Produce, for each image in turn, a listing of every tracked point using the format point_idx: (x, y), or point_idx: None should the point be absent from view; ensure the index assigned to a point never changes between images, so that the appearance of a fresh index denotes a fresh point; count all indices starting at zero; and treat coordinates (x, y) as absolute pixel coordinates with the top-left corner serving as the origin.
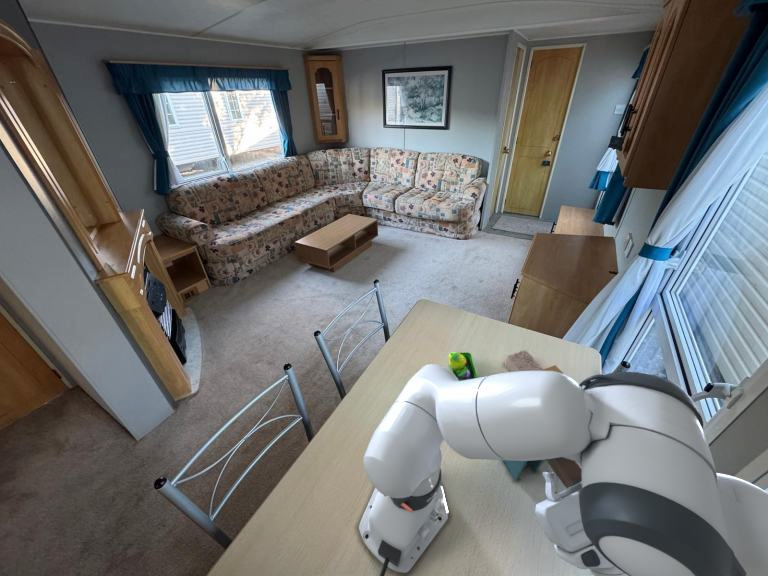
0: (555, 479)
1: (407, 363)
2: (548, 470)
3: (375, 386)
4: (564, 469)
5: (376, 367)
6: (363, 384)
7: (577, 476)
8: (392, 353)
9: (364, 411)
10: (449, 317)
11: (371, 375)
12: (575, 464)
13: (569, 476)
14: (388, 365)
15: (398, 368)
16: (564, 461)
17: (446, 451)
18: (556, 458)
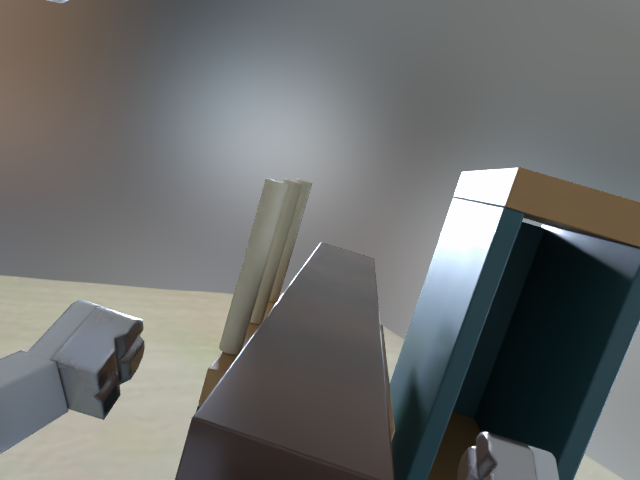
0: (92, 360)
1: (209, 317)
2: (137, 340)
3: (93, 296)
4: (242, 368)
5: (141, 289)
6: (77, 284)
7: (290, 433)
8: (201, 298)
9: (4, 296)
10: (387, 336)
11: (113, 287)
12: (369, 407)
13: (218, 394)
14: (167, 299)
15: (180, 310)
16: (303, 362)
17: (33, 448)
18: (267, 333)
